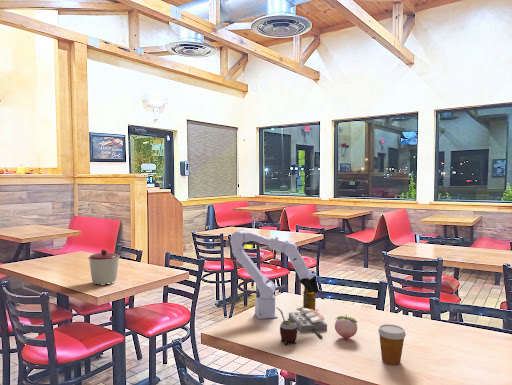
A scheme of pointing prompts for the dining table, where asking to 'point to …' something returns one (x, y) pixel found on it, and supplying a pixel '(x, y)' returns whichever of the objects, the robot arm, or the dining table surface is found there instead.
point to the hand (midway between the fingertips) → (314, 291)
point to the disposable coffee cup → (391, 343)
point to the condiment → (308, 300)
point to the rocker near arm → (307, 310)
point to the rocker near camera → (317, 319)
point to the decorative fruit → (346, 326)
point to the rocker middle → (312, 314)
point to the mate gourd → (288, 331)
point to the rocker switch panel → (307, 323)
